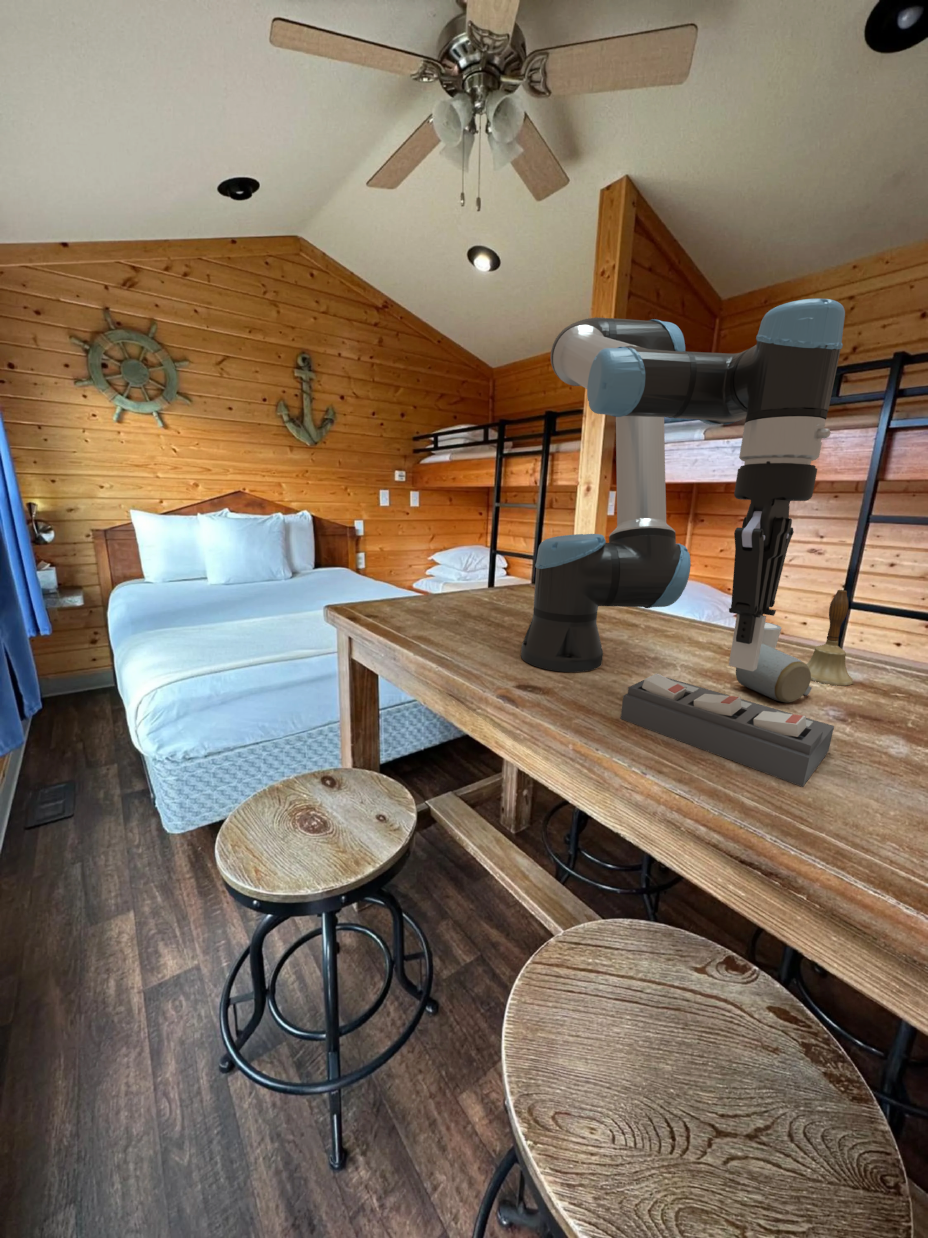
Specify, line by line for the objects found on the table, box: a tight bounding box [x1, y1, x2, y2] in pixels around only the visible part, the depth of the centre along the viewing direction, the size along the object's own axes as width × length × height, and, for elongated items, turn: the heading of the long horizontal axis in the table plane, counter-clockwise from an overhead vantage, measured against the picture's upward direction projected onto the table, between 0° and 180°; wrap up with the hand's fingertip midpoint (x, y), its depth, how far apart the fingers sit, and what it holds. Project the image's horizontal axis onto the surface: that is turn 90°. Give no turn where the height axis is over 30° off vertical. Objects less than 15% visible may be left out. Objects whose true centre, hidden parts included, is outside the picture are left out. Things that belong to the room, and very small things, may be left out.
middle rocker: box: [694, 694, 742, 716], centre depth 63 cm, size 4×4×2 cm
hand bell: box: [805, 589, 854, 687], centre depth 88 cm, size 8×8×16 cm
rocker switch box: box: [620, 676, 835, 788], centre depth 66 cm, size 22×12×5 cm, turn 43°
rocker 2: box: [753, 711, 807, 737], centre depth 58 cm, size 4×4×2 cm
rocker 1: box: [642, 673, 687, 701], centre depth 68 cm, size 4×4×2 cm
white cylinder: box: [761, 621, 782, 649], centre depth 98 cm, size 7×7×7 cm
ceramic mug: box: [735, 644, 813, 704], centre depth 80 cm, size 11×8×8 cm
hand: (742, 667), depth 60 cm, fingers closed
